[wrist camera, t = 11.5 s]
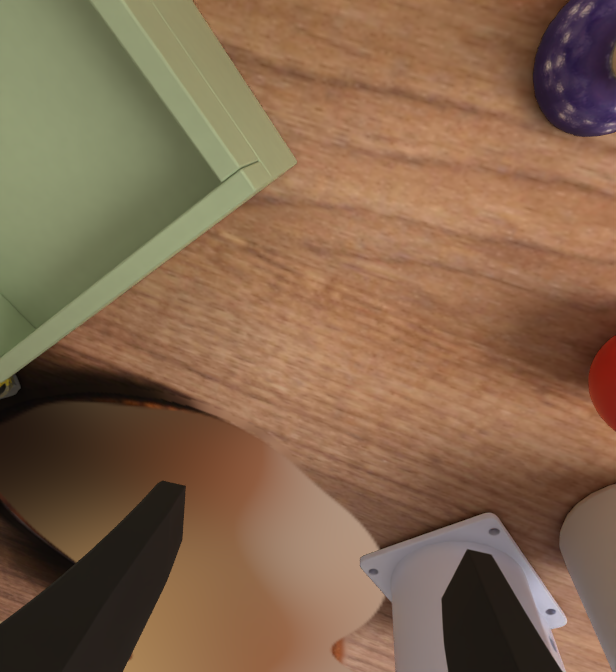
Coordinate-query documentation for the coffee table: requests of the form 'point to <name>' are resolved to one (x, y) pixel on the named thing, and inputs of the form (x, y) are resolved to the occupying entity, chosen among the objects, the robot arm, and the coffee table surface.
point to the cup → (594, 562)
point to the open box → (113, 155)
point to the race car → (9, 387)
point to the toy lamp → (579, 69)
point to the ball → (604, 382)
